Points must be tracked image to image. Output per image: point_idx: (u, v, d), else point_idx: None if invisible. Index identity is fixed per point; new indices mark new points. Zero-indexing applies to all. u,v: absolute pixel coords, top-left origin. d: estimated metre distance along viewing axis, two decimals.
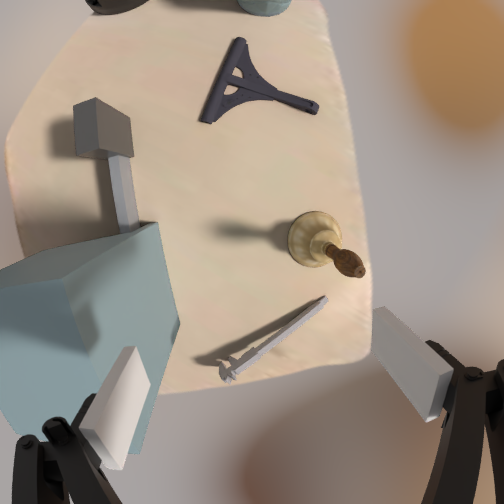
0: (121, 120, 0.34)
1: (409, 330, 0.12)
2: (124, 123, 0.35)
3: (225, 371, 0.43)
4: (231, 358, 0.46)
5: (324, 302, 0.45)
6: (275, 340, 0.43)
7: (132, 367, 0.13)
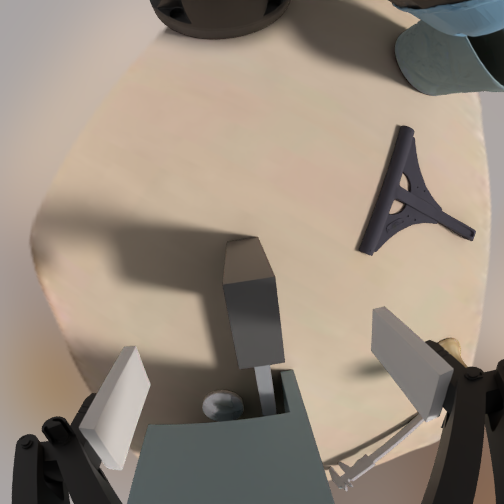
0: None
1: (409, 330, 0.12)
2: None
3: (340, 479, 0.35)
4: (342, 464, 0.37)
5: None
6: (389, 449, 0.35)
7: (132, 366, 0.13)
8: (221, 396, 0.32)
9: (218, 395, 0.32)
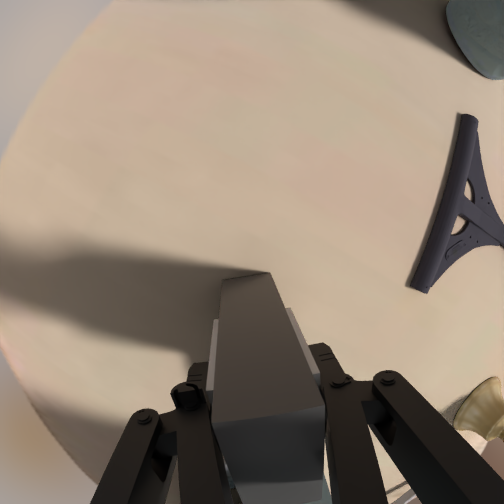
0: None
1: (299, 331, 0.14)
2: None
3: None
4: None
5: None
6: (413, 496, 0.25)
7: None
8: None
9: None
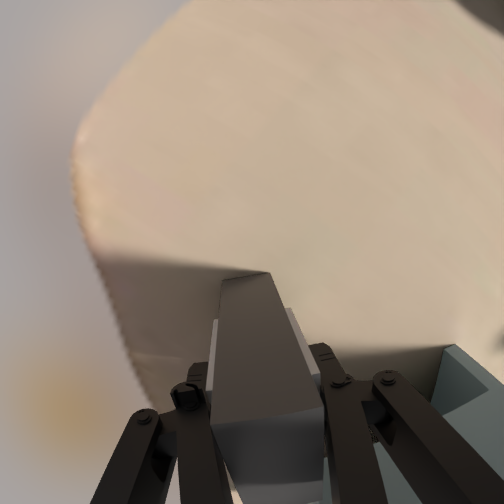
0: None
1: (299, 331, 0.14)
2: None
3: None
4: None
5: None
6: None
7: None
8: None
9: None
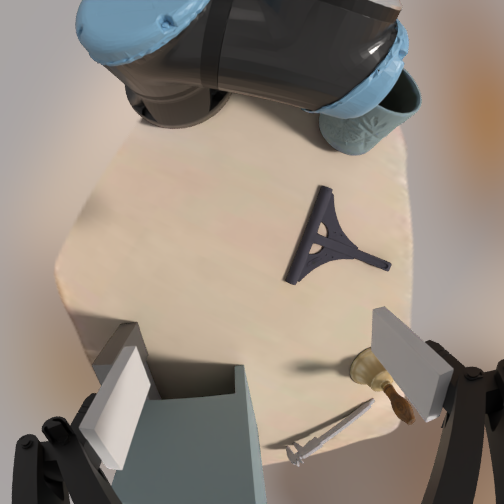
0: (132, 340, 0.39)
1: (409, 330, 0.12)
2: (135, 338, 0.40)
3: (293, 456, 0.47)
4: (296, 444, 0.50)
5: (371, 402, 0.49)
6: (334, 433, 0.47)
7: (132, 367, 0.13)
8: None
9: None
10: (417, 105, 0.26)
